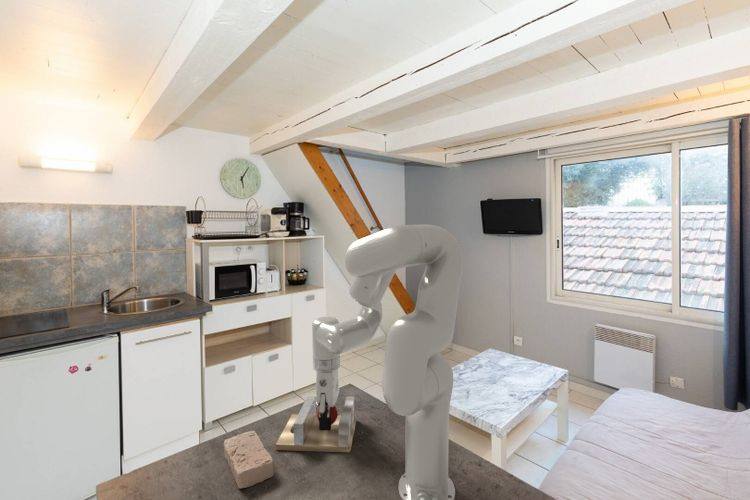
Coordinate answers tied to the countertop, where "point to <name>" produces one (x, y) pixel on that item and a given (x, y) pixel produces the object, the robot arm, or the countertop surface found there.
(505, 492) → the countertop surface
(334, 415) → the onion
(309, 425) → the vise jaw
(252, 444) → the brick
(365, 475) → the countertop surface
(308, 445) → the vise base
